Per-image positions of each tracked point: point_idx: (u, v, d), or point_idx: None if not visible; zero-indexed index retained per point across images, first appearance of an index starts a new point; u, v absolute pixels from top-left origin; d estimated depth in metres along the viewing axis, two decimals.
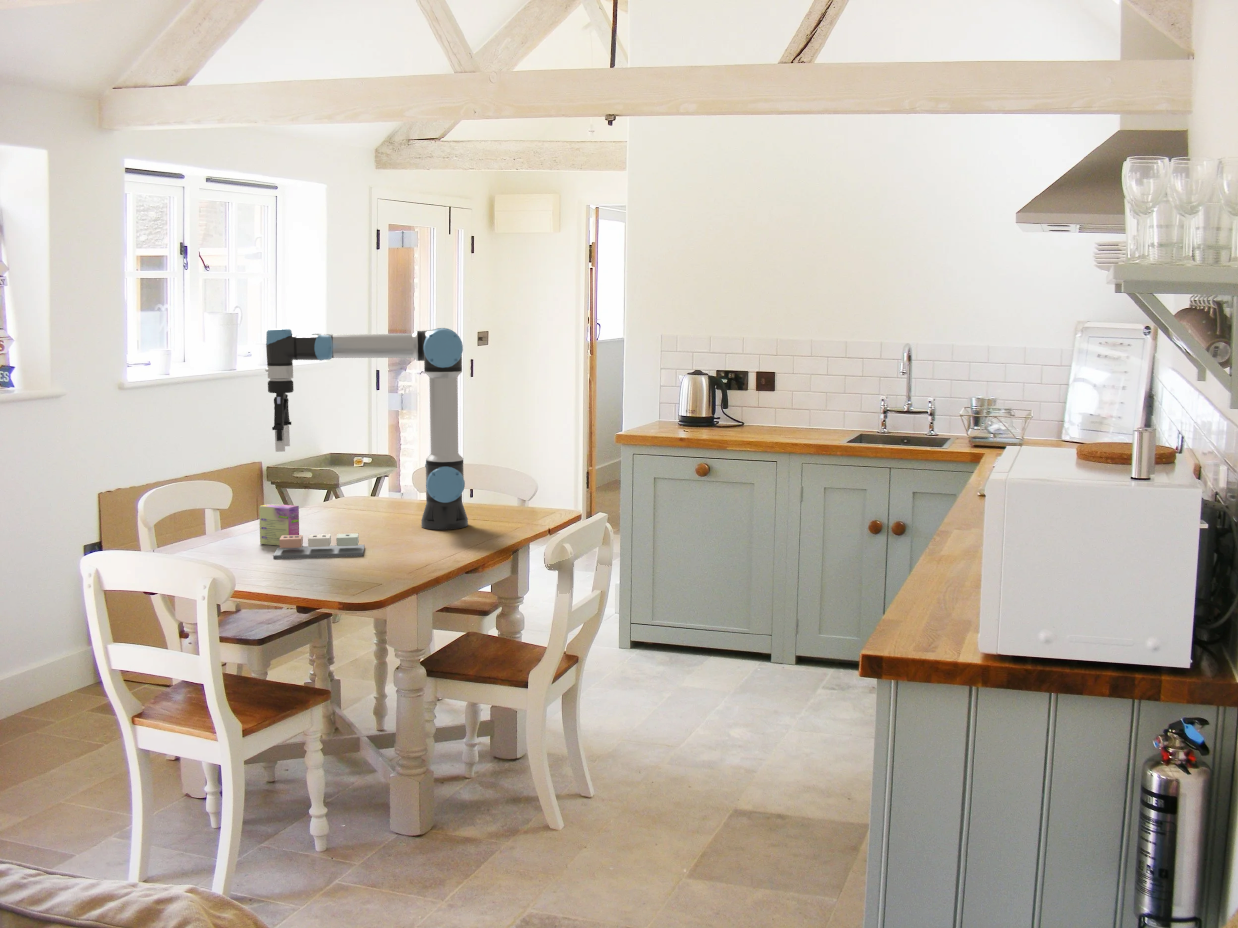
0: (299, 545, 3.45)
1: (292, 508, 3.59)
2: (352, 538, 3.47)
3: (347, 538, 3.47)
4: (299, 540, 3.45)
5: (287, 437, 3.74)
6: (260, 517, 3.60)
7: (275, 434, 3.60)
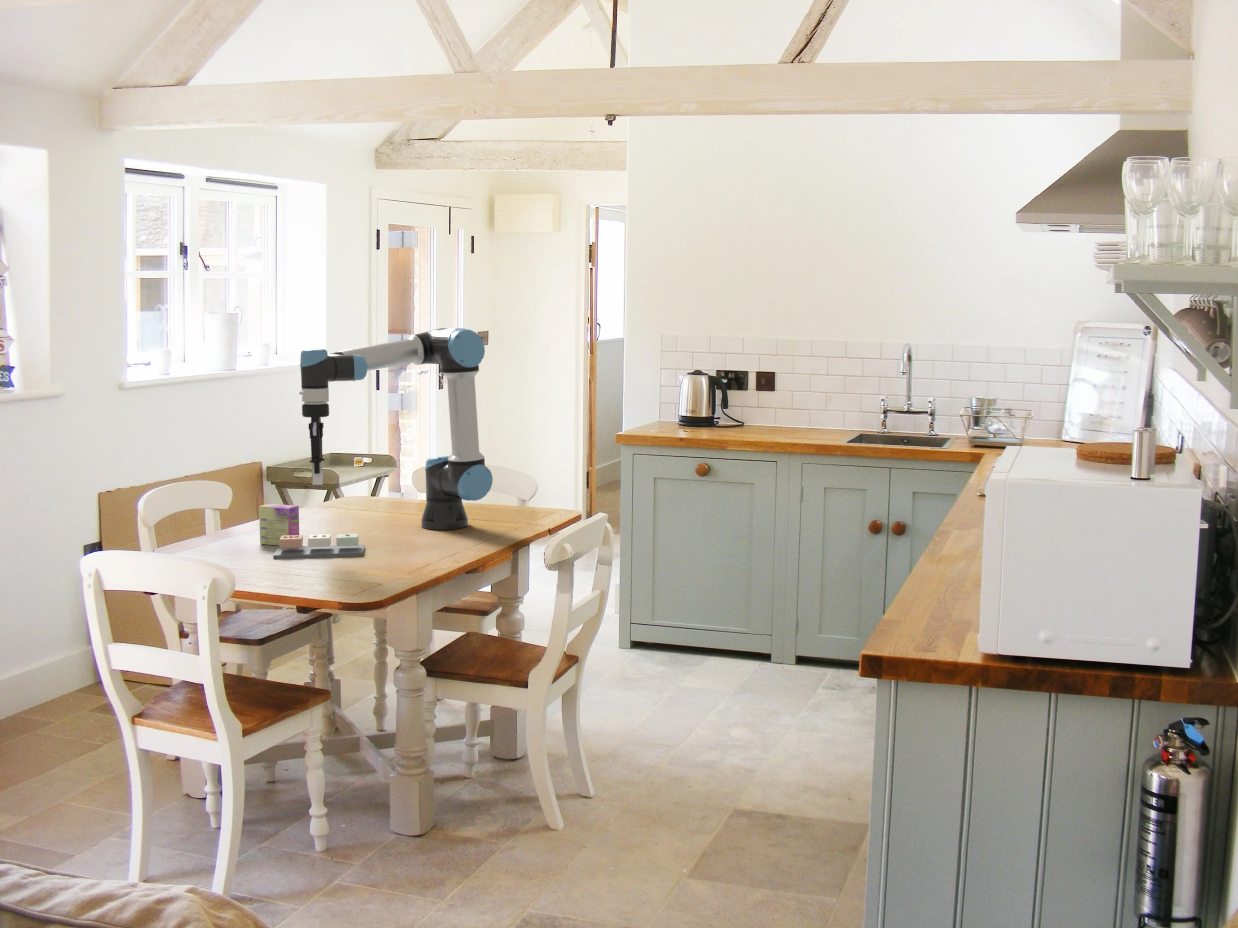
0: (299, 545, 3.45)
1: (292, 508, 3.59)
2: (352, 538, 3.47)
3: (347, 538, 3.47)
4: (299, 540, 3.45)
5: None
6: (260, 517, 3.60)
7: (312, 467, 3.44)
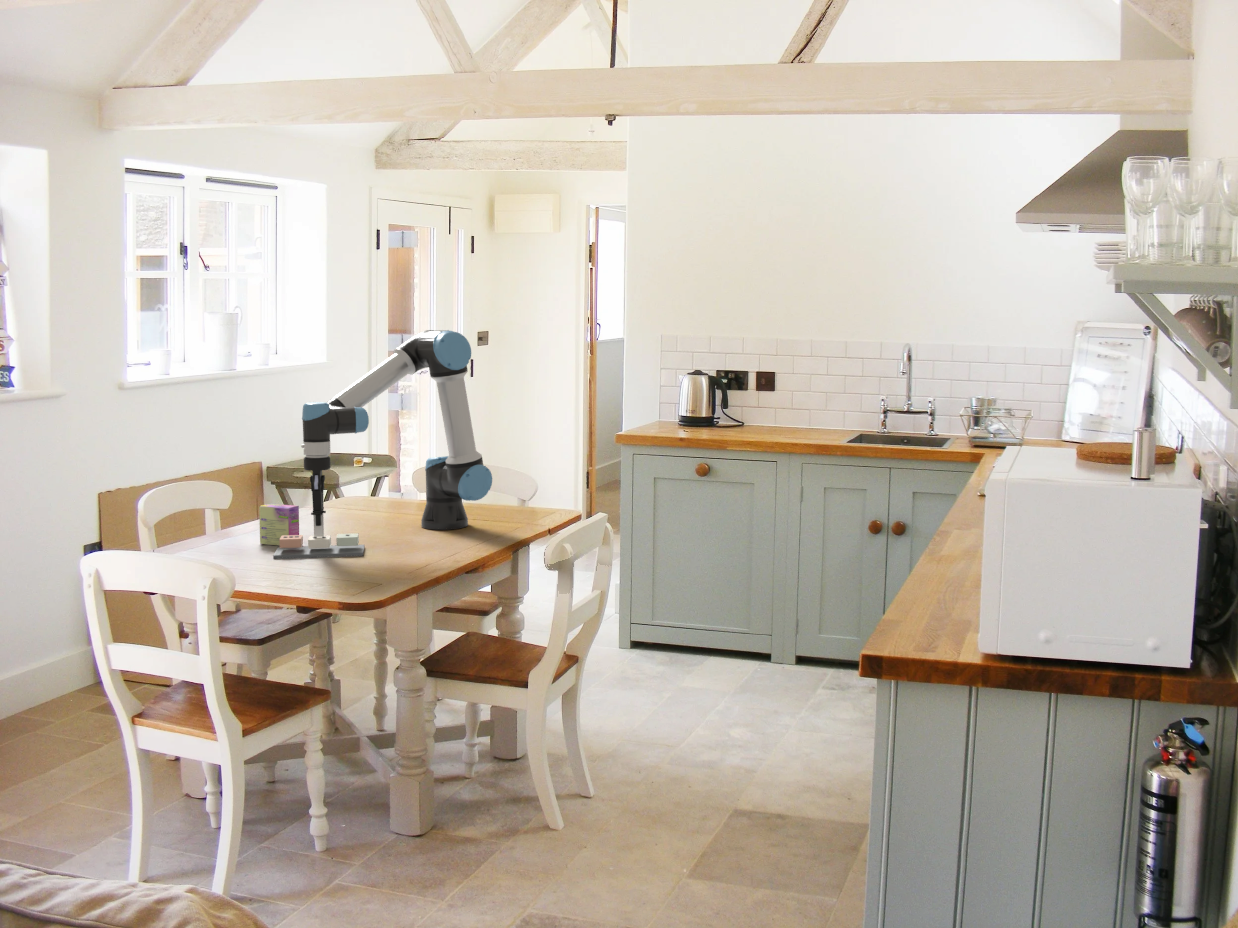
0: (299, 545, 3.45)
1: (292, 508, 3.59)
2: (352, 538, 3.47)
3: (347, 538, 3.47)
4: (299, 540, 3.45)
5: None
6: (260, 517, 3.60)
7: (314, 519, 3.47)
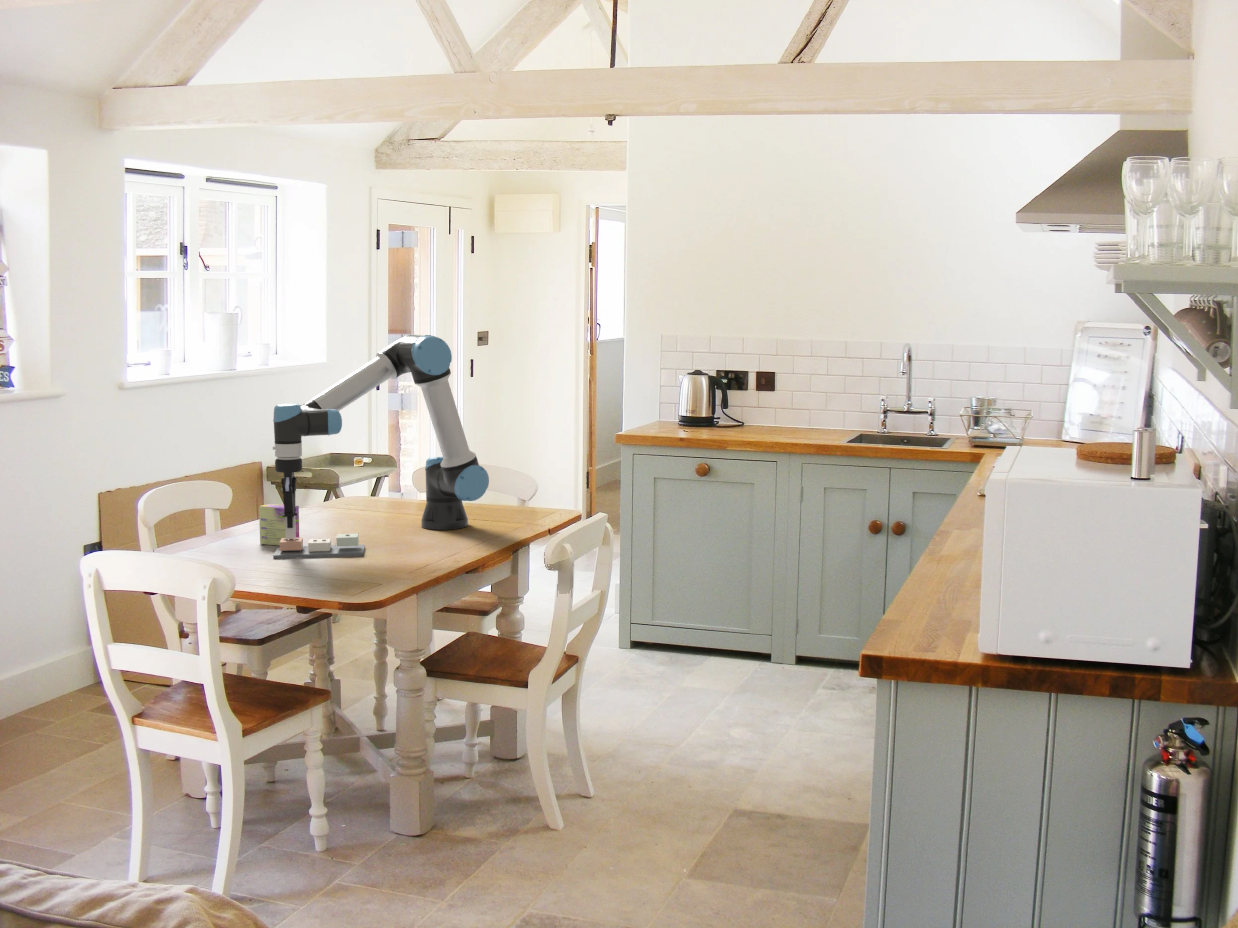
0: (299, 548, 3.45)
1: None
2: (352, 538, 3.47)
3: (347, 538, 3.47)
4: (299, 543, 3.45)
5: None
6: (260, 517, 3.60)
7: (285, 521, 3.46)
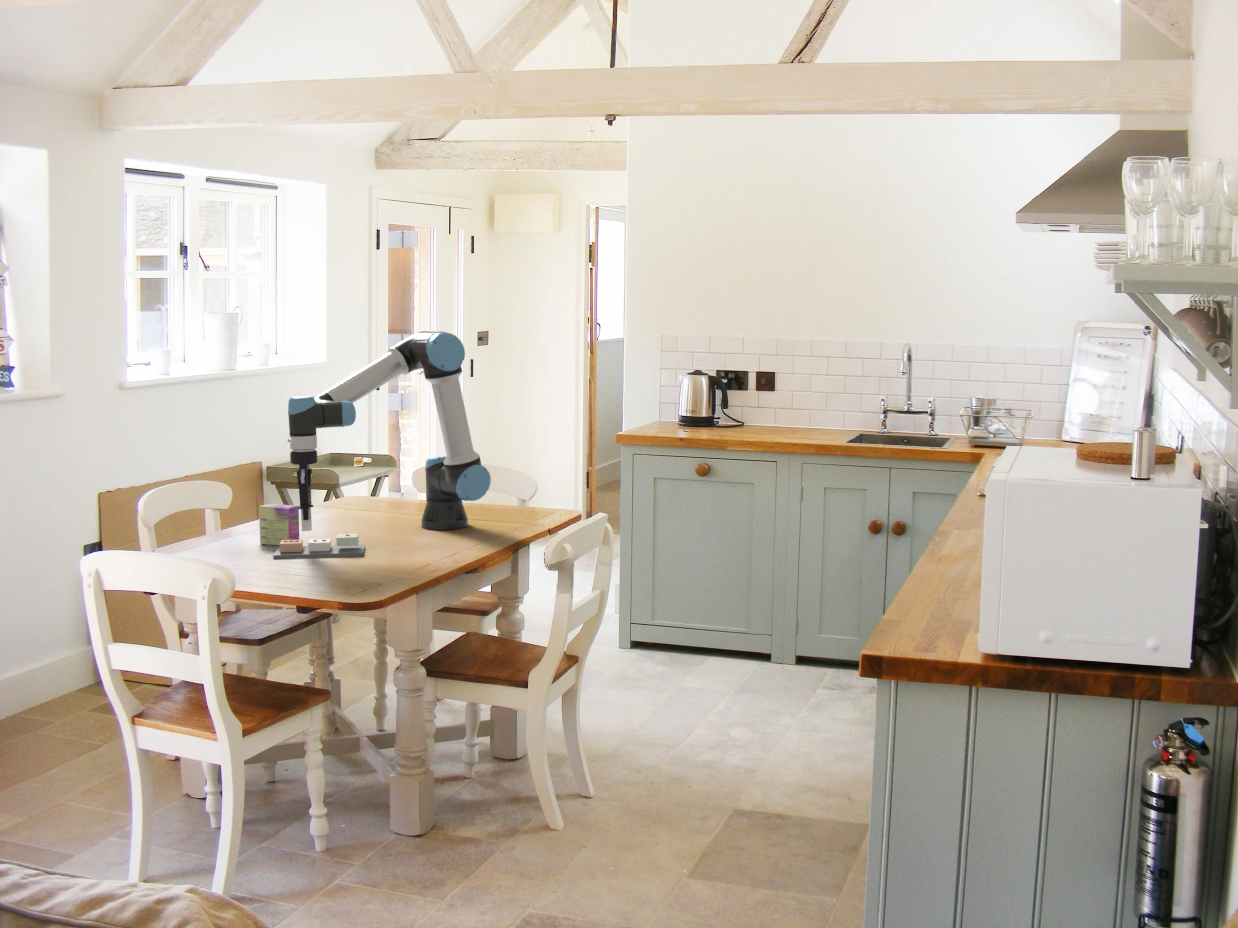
0: (299, 549, 3.45)
1: (292, 508, 3.59)
2: (352, 538, 3.47)
3: (347, 538, 3.47)
4: (299, 544, 3.45)
5: None
6: (260, 517, 3.60)
7: (301, 513, 3.46)
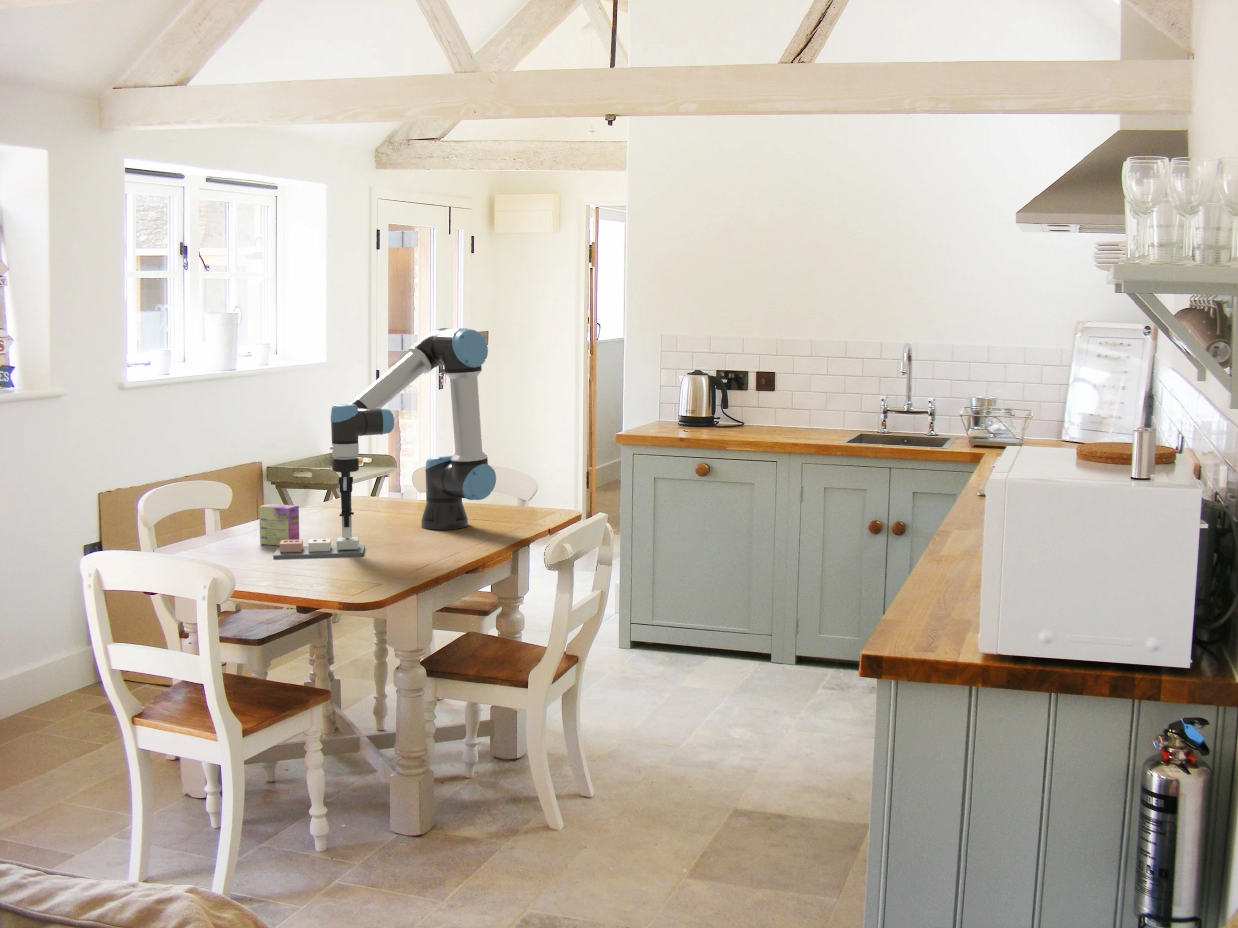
0: (299, 549, 3.45)
1: (292, 508, 3.59)
2: (352, 541, 3.47)
3: (347, 541, 3.47)
4: (299, 544, 3.45)
5: None
6: (260, 517, 3.60)
7: (342, 520, 3.48)
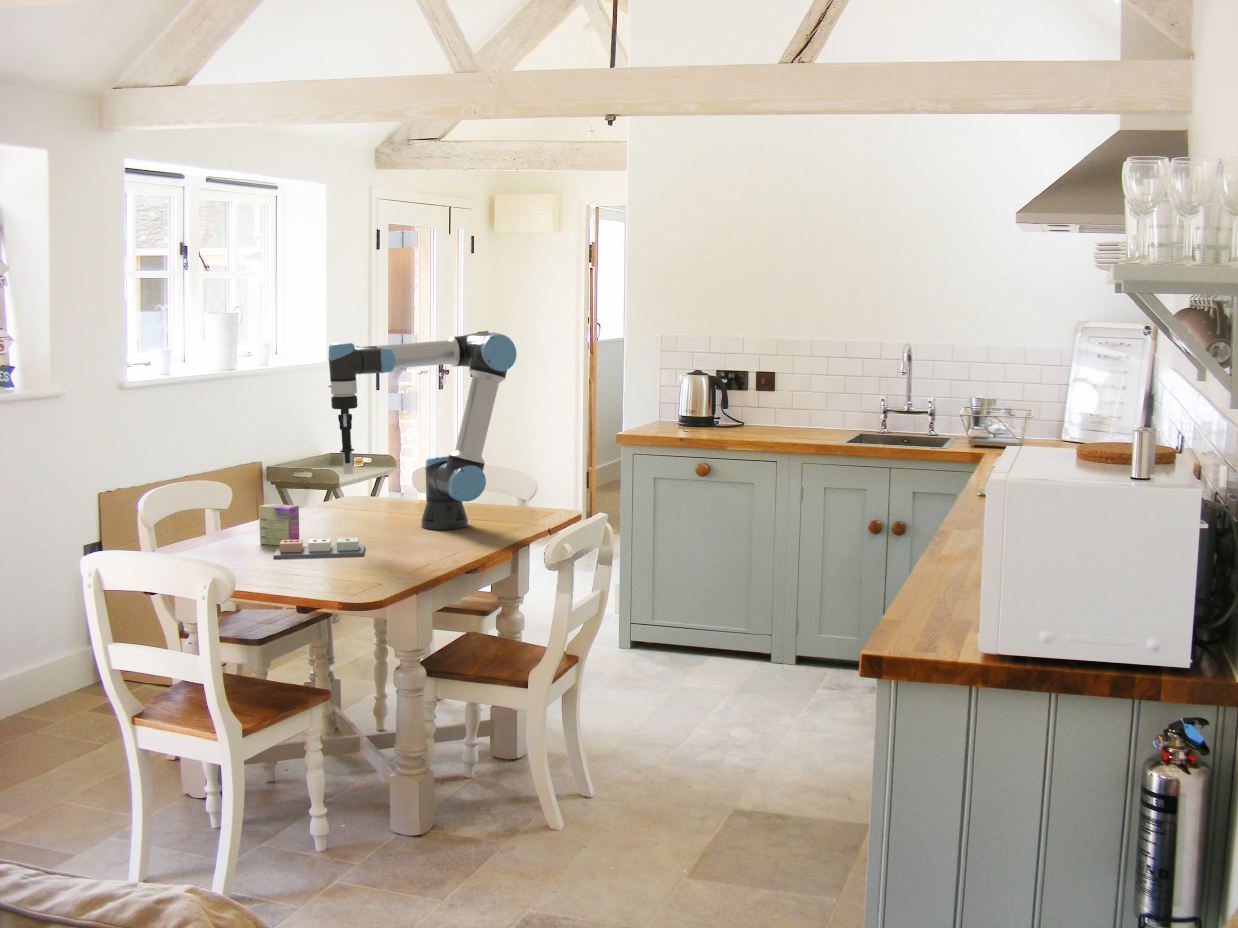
0: (299, 549, 3.45)
1: (292, 508, 3.59)
2: (352, 543, 3.47)
3: (347, 543, 3.47)
4: (299, 544, 3.45)
5: None
6: (260, 517, 3.60)
7: (343, 456, 3.57)
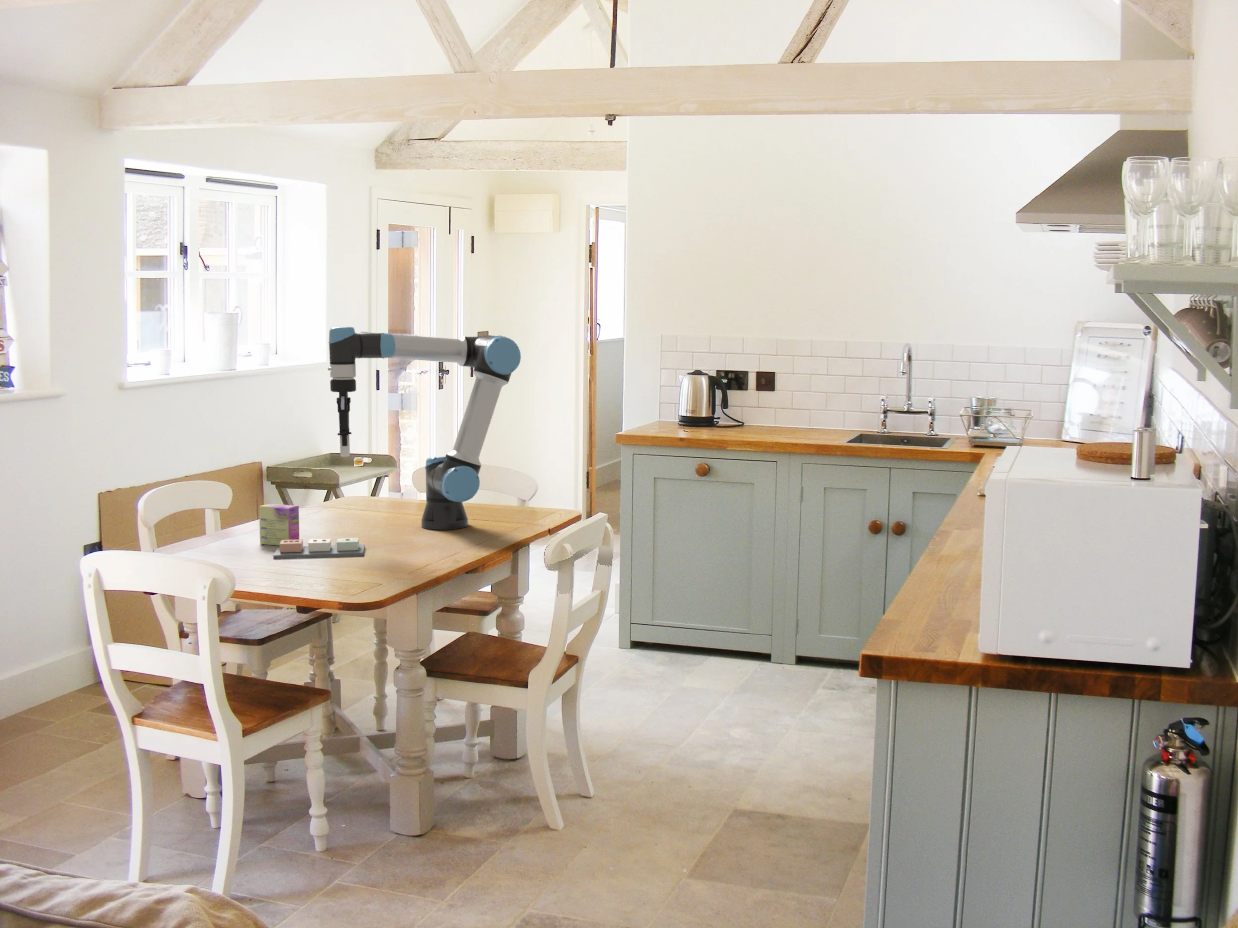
0: (299, 549, 3.45)
1: (292, 508, 3.59)
2: (352, 543, 3.47)
3: (347, 543, 3.47)
4: (299, 544, 3.45)
5: None
6: (260, 517, 3.60)
7: (340, 439, 3.61)
